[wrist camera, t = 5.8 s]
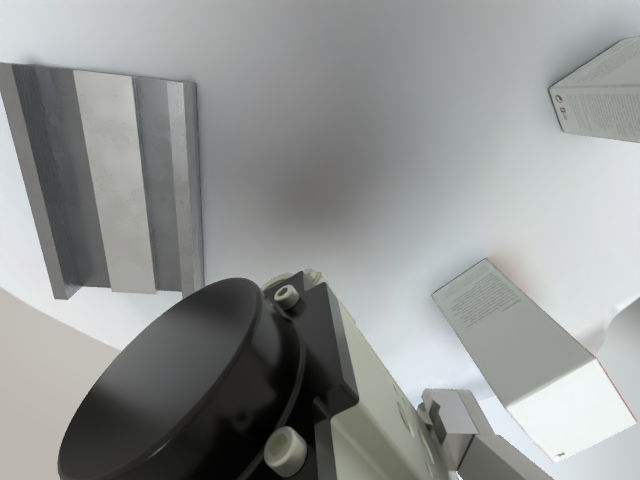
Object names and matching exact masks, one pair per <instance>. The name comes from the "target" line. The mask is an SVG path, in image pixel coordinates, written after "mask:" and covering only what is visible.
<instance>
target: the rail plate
mask: <svg viewBox="0 0 640 480" xmlns="http://www.w3.org/2000/svg"><path fill="white" fill-rule="evenodd" d="M0 92H1V95H2V99H3V103H4V107H5V111H6V115H7V118H8V122H9V126H10V130H11V134H12V138H13V141H14V145H15V149H16V153H17V157H18V161H19V164H20V168H21V172H22V176H23V180H24V183H25V187H26V191H27V195H28V199H29V203H30V206H31V210H32V214H33V218H34V222H35V226H36V229H37V233H38V237H39V241H40V245H41V249H42V252H43V256H44V260H45V264H46V268H47V271H48V275H49V279H50V283H51V287H52V291H53V294H54V298H55V299H64V300H68V299H69V298H70V297H71V296H72V295H74V294H75V293H76V292H77V291H78V290H79V289H80V288H81V287H82V286H87V287H106V288H111V290H112V292H124V293H144V294H156V293H157V292H158V290H163V291H182V296H183V299H184V298H186V297H187V296H189V295H191V294H192V293H194V292H196V291H198V290H200V289H202V288H204V264H203V240H202V216H201V192H200V167H199V143H198V119H197V95H196V83H189V82H180V81H171V80H162V79H153V78H145V77H136V76H127V75H118V74H109V73H101V72H92V71H83V70H74V69H65V68H57V67H48V66H39V65H30V64H17V63H4V62H0Z"/></svg>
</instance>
